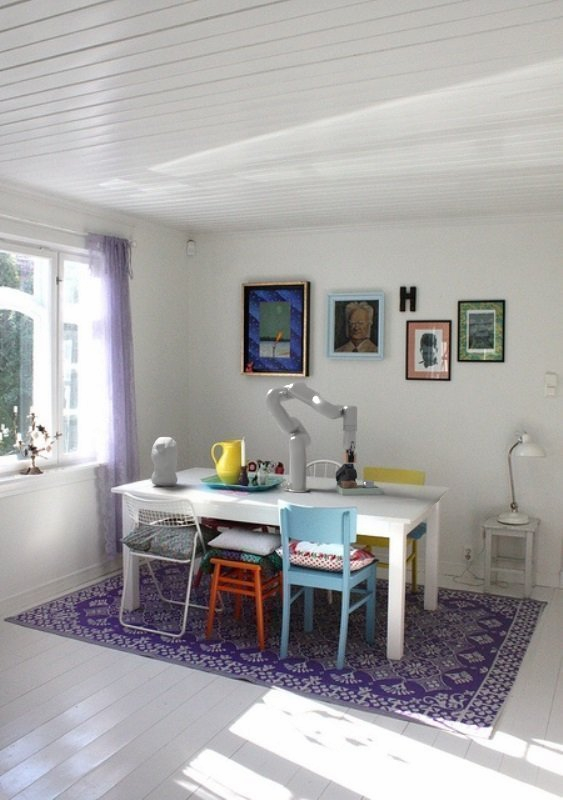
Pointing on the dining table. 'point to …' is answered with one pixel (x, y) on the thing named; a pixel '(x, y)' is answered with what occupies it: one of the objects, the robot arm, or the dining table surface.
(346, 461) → the terracotta box
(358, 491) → the pale green flat tray
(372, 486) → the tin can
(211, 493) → the dining table surface
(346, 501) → the dining table surface
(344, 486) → the walnut block
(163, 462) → the bust
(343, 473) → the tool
